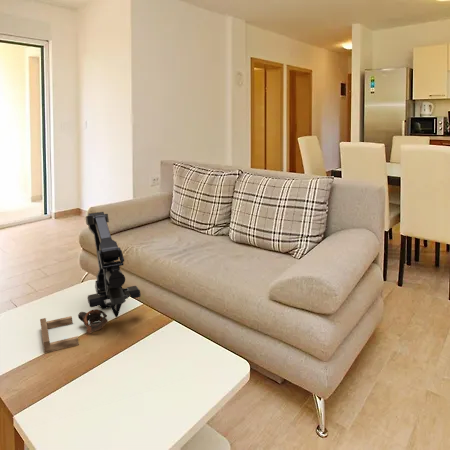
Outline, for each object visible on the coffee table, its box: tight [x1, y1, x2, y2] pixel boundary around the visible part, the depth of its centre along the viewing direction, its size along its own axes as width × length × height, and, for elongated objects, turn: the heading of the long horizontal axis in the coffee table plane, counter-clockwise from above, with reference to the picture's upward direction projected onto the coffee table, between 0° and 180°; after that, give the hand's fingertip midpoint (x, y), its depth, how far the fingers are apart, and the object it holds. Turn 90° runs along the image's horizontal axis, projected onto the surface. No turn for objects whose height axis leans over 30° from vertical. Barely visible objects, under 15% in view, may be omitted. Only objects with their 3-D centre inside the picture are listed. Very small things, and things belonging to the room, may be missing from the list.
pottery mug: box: [77, 309, 109, 334], centre depth 157 cm, size 12×10×8 cm
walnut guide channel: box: [39, 315, 80, 354], centre depth 152 cm, size 11×19×4 cm, turn 26°
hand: (116, 316), depth 160 cm, fingers closed
